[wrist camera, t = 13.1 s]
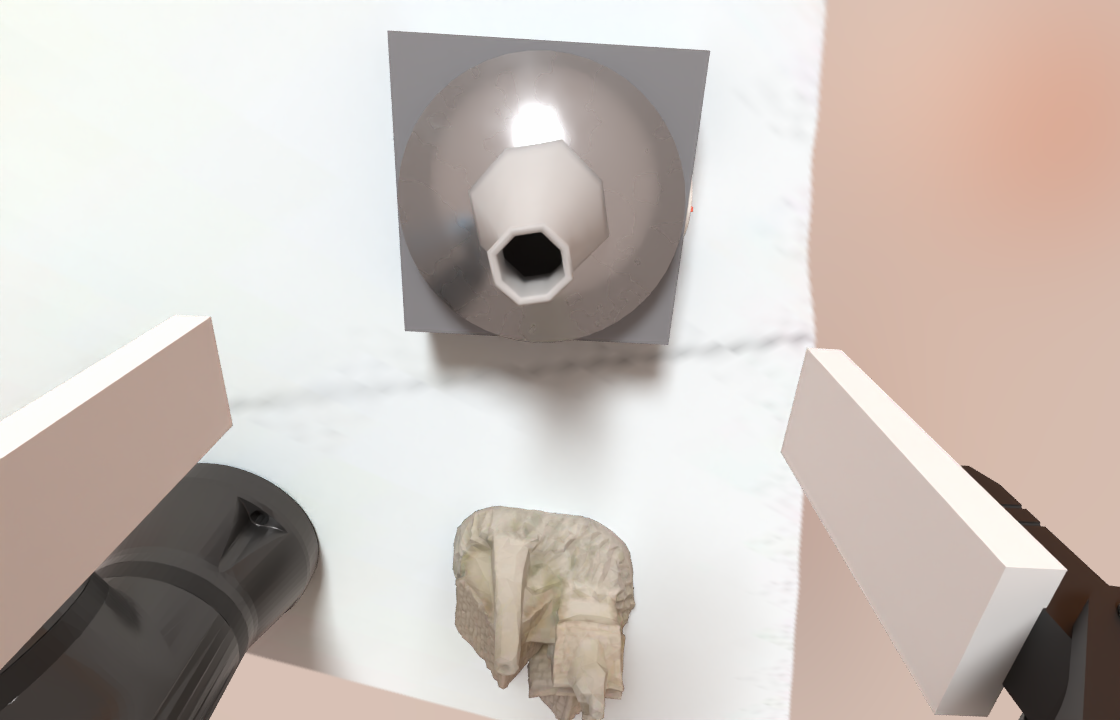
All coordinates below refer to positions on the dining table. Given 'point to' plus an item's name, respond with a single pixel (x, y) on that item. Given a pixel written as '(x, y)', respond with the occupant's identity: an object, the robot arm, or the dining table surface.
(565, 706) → the ceramic cottage
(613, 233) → the scale pan
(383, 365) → the dining table surface
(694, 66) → the base
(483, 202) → the flask
